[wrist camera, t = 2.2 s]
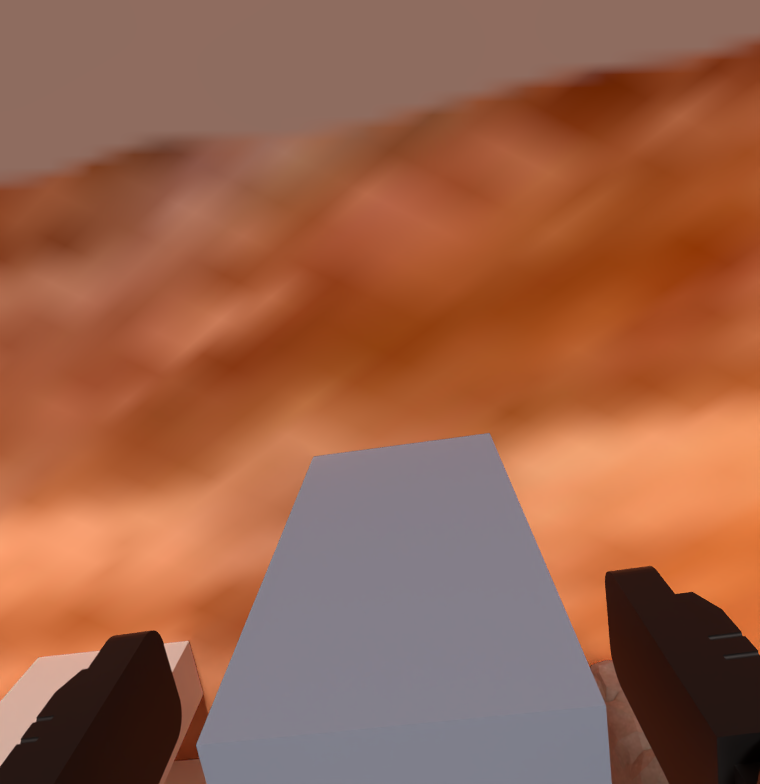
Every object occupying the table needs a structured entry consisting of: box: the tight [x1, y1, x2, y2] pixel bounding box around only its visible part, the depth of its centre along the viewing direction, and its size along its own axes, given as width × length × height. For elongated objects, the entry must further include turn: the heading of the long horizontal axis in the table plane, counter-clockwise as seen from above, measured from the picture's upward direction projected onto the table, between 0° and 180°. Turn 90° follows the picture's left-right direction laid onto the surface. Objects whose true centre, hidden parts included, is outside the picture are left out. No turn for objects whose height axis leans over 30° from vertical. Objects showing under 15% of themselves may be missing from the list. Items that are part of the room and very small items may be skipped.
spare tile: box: [196, 433, 612, 784], centre depth 12 cm, size 5×2×10 cm, turn 99°
